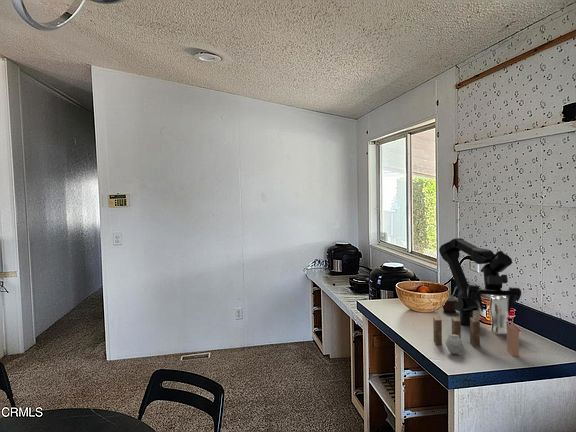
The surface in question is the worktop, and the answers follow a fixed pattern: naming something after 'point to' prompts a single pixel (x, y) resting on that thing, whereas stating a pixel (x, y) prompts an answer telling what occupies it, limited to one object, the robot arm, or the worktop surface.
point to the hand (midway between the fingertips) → (495, 312)
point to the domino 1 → (437, 330)
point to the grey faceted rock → (454, 344)
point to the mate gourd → (450, 303)
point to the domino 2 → (456, 326)
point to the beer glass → (498, 314)
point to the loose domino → (513, 340)
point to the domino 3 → (475, 332)
